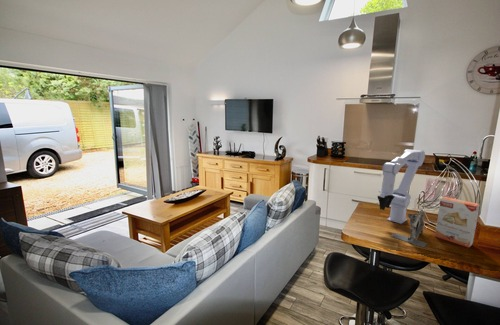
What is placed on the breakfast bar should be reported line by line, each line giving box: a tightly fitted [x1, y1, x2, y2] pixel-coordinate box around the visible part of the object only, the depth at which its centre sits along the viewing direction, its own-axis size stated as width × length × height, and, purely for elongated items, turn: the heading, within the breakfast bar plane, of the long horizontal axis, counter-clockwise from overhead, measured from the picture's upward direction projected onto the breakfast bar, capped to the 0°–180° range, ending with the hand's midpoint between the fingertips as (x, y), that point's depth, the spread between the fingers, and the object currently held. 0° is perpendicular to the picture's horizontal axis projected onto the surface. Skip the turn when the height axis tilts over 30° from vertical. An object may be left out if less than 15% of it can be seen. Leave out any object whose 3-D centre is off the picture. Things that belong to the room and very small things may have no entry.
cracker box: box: [434, 196, 481, 248], centre depth 123 cm, size 14×6×21 cm, turn 36°
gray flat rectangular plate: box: [390, 232, 428, 248], centre depth 125 cm, size 6×14×1 cm, turn 41°
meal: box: [407, 209, 425, 241], centre depth 127 cm, size 15×4×13 cm, turn 132°
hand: (384, 208), depth 140 cm, fingers open, 7 cm apart
